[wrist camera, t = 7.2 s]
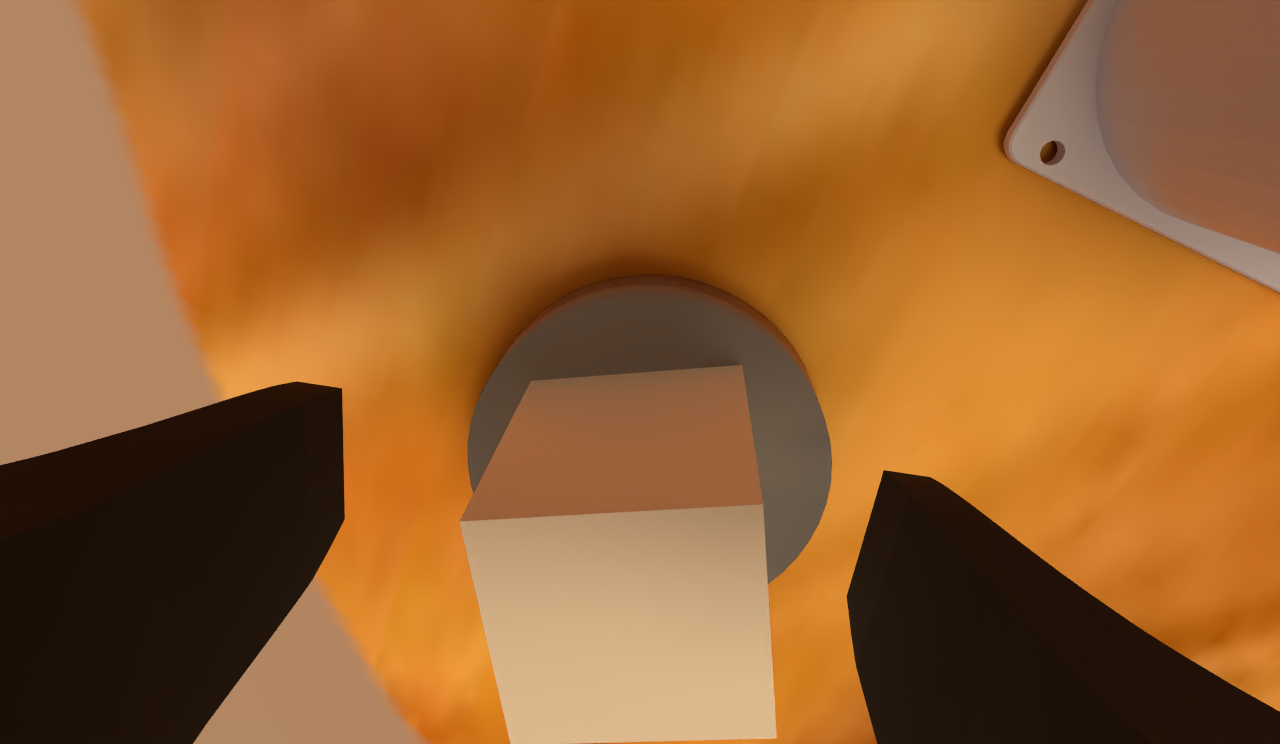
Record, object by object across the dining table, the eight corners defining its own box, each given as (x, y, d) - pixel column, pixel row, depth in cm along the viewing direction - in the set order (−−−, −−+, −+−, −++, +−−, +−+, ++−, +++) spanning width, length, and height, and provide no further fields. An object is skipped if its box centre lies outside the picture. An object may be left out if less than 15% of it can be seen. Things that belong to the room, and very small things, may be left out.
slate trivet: (883, 362, 20) (903, 395, 18) (726, 615, 23) (729, 664, 21) (558, 216, 19) (543, 233, 17) (444, 500, 22) (421, 541, 20)
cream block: (742, 364, 18) (762, 504, 12) (753, 545, 20) (776, 738, 14) (530, 380, 18) (459, 521, 13) (561, 555, 20) (511, 744, 15)
